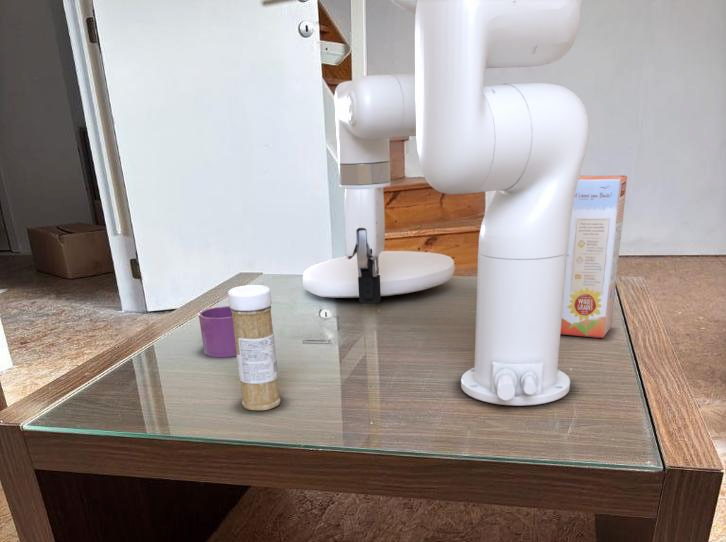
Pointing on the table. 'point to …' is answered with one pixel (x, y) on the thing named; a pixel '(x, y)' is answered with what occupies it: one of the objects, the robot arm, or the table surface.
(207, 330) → the cup
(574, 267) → the cracker box
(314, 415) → the table surface
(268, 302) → the spice jar
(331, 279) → the plate
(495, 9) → the robot arm
